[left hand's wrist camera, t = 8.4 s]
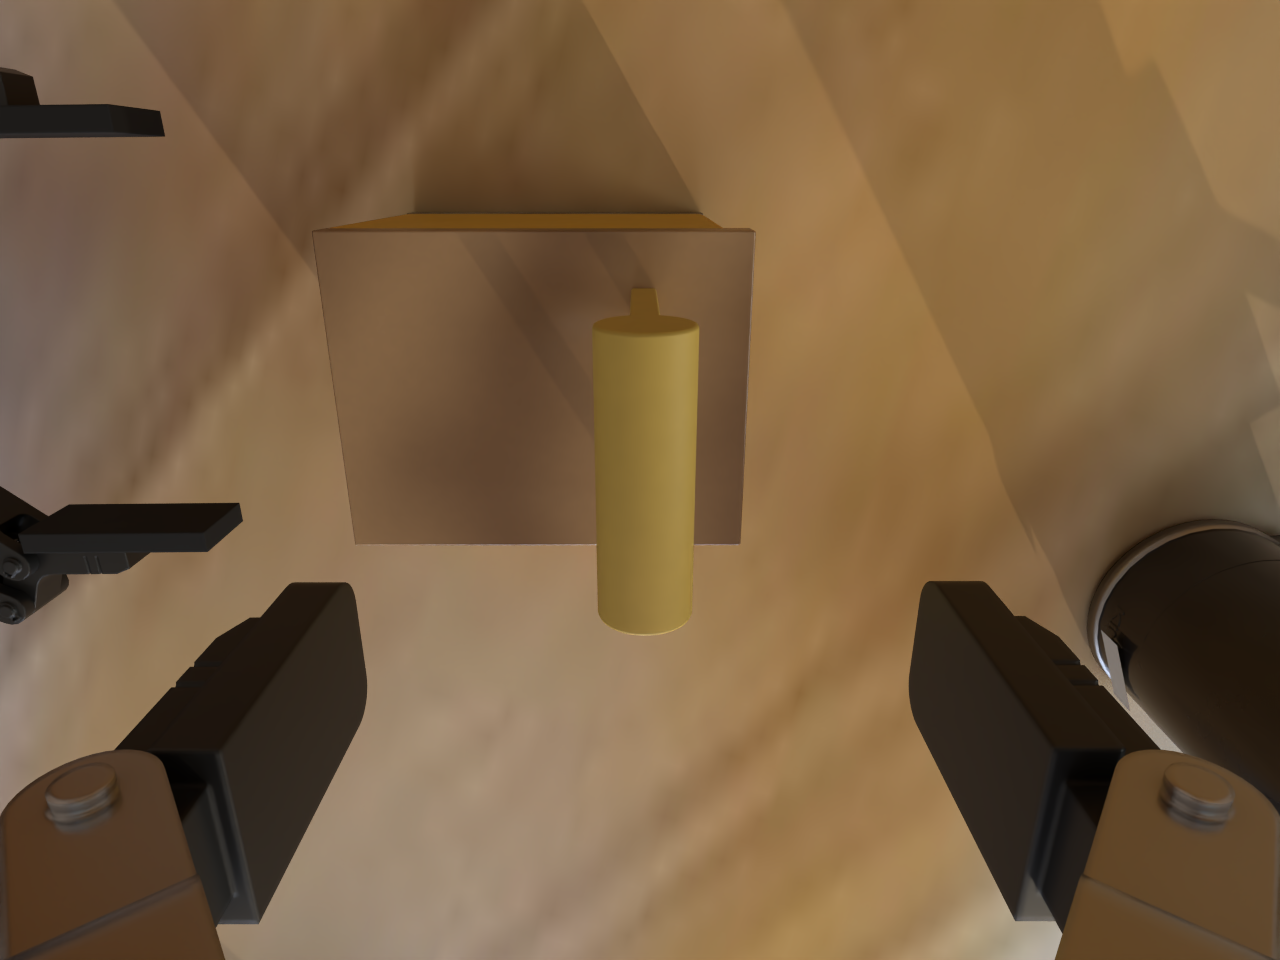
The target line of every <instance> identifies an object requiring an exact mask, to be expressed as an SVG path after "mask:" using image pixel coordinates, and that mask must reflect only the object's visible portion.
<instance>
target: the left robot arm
mask: <svg viewBox="0 0 1280 960" xmlns="http://www.w3.org/2000/svg"><path fill="white" fill-rule="evenodd" d="M1087 635H1088V641H1089V646H1090V649H1091V652H1092V654H1093V656H1094V658H1095V660H1096V662H1097V663H1098V665H1099V666H1100V667H1101V668H1102V670H1103V671H1104V672H1105V673H1106V674H1107V675H1108V676H1109V677H1110V678H1111V681H1112V686H1113V691H1114V694H1115V696H1116V697H1117V698H1118V699H1119V700H1120V701H1121V702H1122V703H1123V704H1124V705H1125V707H1126V708H1127V709H1128V710H1129V711H1130V708H1129V703H1128V698H1127V693H1128V694H1129V695H1130V696H1131V697H1132V698H1133V699H1134V700H1135V702H1136V703H1137V704H1138V705H1139V706H1140V707H1141V708H1142V709H1143V710H1144V711H1145V712H1146V713H1147V714H1148V716H1149V717H1150V718H1151V719H1152V720H1153V721H1154V722H1155V724H1156V725H1157V726H1158V727H1159V728H1160V729H1161V730H1162V731H1163V732H1164V733H1165V734H1166V735H1167V736H1168V737H1169V738H1170V740H1171V741H1172V742H1173V743H1174V744H1175V745H1176V746H1177V747H1178V748H1179V749H1180V750H1181V751H1182V752H1183V753H1179V752H1175V751H1167V750H1161V749H1160V748H1159V747H1158V746H1157V745H1156V744H1155V743H1154V742H1153V741H1152V739H1151V738H1150V737H1149V736H1148V735H1147V734H1146V733H1145V732H1144V731H1143V730H1142V728H1141V727H1140V726H1139V725H1138V724H1137V723H1136V722H1135V721H1134V720H1133V718H1132V717H1131V716H1130V715H1129V714H1128V713H1127V712H1126V711H1125V710H1124V708H1123V707H1122V706H1121V705H1120V704H1119V703H1118V702H1117V701H1116V700H1115V699H1114V697H1113V696H1112V695H1111V694H1110V693H1109V692H1108V691H1107V690H1106V689H1105V687H1104V686H1099V685H1098V680H1097V679H1096V678H1095V676H1094V675H1093V674H1092V673H1091V672H1090V671H1089V670H1088V669H1087V668H1086V666H1085V665H1080V660H1079V659H1078V658H1077V656H1076V655H1075V654H1074V653H1073V652H1072V651H1071V650H1070V649H1069V648H1068V647H1067V645H1066V644H1065V643H1064V642H1063V641H1062V640H1061V639H1060V638H1059V637H1058V636H1057V635H1055V634H1053V633H1052V632H1050V631H1048V630H1047V629H1045V628H1044V627H1042V626H1040V625H1039V624H1037V623H1035V622H1034V621H1032V620H1030V619H1029V618H1027V617H1025V616H1014V615H1013V614H1012V613H1011V611H1010V610H1009V609H1008V608H1007V607H1006V606H1005V604H1004V603H1003V602H1002V601H1001V600H1000V598H999V597H998V596H997V595H996V594H995V593H994V591H993V590H992V589H991V588H990V587H989V586H988V585H987V584H986V583H985V582H983V581H929V582H927V583H926V584H925V585H924V587H923V589H922V593H921V597H920V603H919V610H918V617H917V624H916V631H915V638H914V645H913V652H912V660H911V667H910V674H909V698H910V704H911V710H912V713H913V717H914V720H915V722H916V724H917V726H918V728H919V730H920V732H921V734H922V736H923V738H924V740H925V742H926V744H927V746H928V748H929V750H930V752H931V754H932V756H933V758H934V760H935V762H936V764H937V766H938V768H939V770H940V772H941V774H942V776H943V778H944V780H945V782H946V784H947V786H948V788H949V790H950V792H951V794H952V796H953V798H954V800H955V802H956V804H957V806H958V808H959V810H960V812H961V814H962V816H963V818H964V820H965V822H966V824H967V826H968V828H969V830H970V832H971V834H972V836H973V838H974V840H975V842H976V844H977V846H978V848H979V850H980V852H981V854H982V856H983V858H984V860H985V862H986V864H987V866H988V868H989V870H990V872H991V874H992V876H993V878H994V880H995V882H996V884H997V886H998V888H999V890H1000V892H1001V894H1002V896H1003V898H1004V900H1005V902H1006V904H1007V905H1008V907H1009V909H1010V911H1011V913H1012V915H1013V917H1014V919H1015V921H1056V923H1057V925H1058V926H1059V928H1060V930H1061V932H1062V934H1063V935H1062V938H1061V941H1060V944H1059V948H1058V951H1057V954H1056V958H1055V960H1280V535H1278V536H1268V535H1266V534H1264V533H1263V532H1261V531H1259V530H1257V529H1255V528H1253V527H1251V526H1248V525H1245V524H1242V523H1238V522H1234V521H1227V520H1200V521H1193V522H1188V523H1184V524H1180V525H1177V526H1174V527H1171V528H1168V529H1166V530H1163V531H1161V532H1158V533H1156V534H1155V535H1153V536H1151V537H1149V538H1147V539H1145V540H1144V541H1142V542H1140V543H1139V544H1138V545H1136V546H1135V547H1133V548H1132V549H1131V550H1130V551H1128V552H1127V553H1126V554H1125V555H1124V556H1122V557H1121V558H1120V559H1119V560H1118V561H1117V562H1116V563H1115V565H1114V566H1113V567H1112V568H1111V569H1110V570H1109V572H1108V573H1107V574H1106V576H1105V577H1104V578H1103V580H1102V582H1101V583H1100V585H1099V587H1098V588H1097V591H1096V593H1095V595H1094V597H1093V600H1092V602H1091V605H1090V609H1089V613H1088V620H1087ZM1126 692H1127V693H1126ZM366 698H367V676H366V669H365V662H364V655H363V648H362V641H361V634H360V627H359V620H358V613H357V606H356V600H355V595H354V592H353V589H352V587H351V586H350V585H349V584H348V583H346V582H295V583H291V584H289V585H288V586H287V587H286V588H285V589H284V591H283V592H282V593H281V594H280V595H279V596H278V598H277V599H276V600H275V601H274V602H273V603H272V605H271V606H270V607H269V608H268V609H267V610H266V612H265V613H264V614H263V615H262V616H261V617H260V618H249V619H247V620H245V621H244V622H242V623H240V624H239V625H237V626H236V627H234V628H232V629H231V630H229V631H227V632H226V633H224V634H222V635H221V636H219V637H217V638H216V639H215V640H214V641H213V642H212V643H211V644H210V646H209V647H208V648H207V649H206V650H205V651H204V652H203V653H202V654H201V655H200V657H199V658H198V659H197V660H196V661H195V662H194V667H189V669H188V670H187V671H186V672H185V673H184V674H183V675H182V676H181V677H180V678H179V680H178V681H177V682H176V687H171V688H170V689H169V691H168V692H167V693H166V694H165V695H164V696H163V697H162V698H161V699H160V700H159V701H158V703H157V704H156V705H155V706H154V707H153V708H152V709H151V710H150V711H149V712H148V714H147V715H146V716H145V717H144V718H143V719H142V720H141V721H140V722H139V723H138V725H137V726H136V727H135V728H134V729H133V730H132V731H131V732H130V733H129V734H128V735H127V737H126V738H125V739H124V740H123V741H122V742H121V743H120V744H119V745H118V746H117V748H116V749H115V750H113V751H105V752H101V753H96V754H92V755H89V756H85V757H82V758H79V759H76V760H74V761H71V762H68V763H66V764H64V765H62V766H59V767H57V768H55V769H53V770H51V771H49V772H48V773H46V774H44V775H42V776H41V777H39V778H37V779H36V780H35V781H33V782H32V783H30V784H29V785H27V786H26V787H25V788H24V789H23V790H21V791H20V792H19V793H18V794H17V795H16V796H15V797H14V798H13V799H12V800H11V801H10V802H9V803H8V805H7V806H6V807H5V809H4V810H3V812H2V814H1V816H0V960H225V958H224V954H223V951H222V948H221V944H220V941H219V938H218V935H217V931H216V927H217V925H218V924H259V922H260V920H261V918H262V916H263V914H264V912H265V910H266V908H267V906H268V904H269V903H270V901H271V899H272V897H273V895H274V893H275V891H276V889H277V887H278V885H279V883H280V881H281V879H282V877H283V875H284V873H285V871H286V869H287V867H288V865H289V863H290V861H291V859H292V857H293V855H294V853H295V851H296V849H297V847H298V845H299V843H300V842H301V840H302V838H303V836H304V834H305V832H306V830H307V828H308V826H309V824H310V822H311V820H312V818H313V816H314V814H315V812H316V810H317V808H318V806H319V804H320V802H321V800H322V798H323V796H324V794H325V792H326V790H327V788H328V786H329V784H330V782H331V781H332V779H333V777H334V775H335V773H336V771H337V769H338V767H339V765H340V763H341V761H342V759H343V757H344V755H345V753H346V751H347V749H348V747H349V745H350V743H351V741H352V739H353V737H354V735H355V733H356V731H357V729H358V727H359V725H360V723H361V721H362V718H363V714H364V710H365V705H366Z"/></svg>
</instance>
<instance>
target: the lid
mask: <svg viewBox="0 0 1280 960" xmlns="http://www.w3.org/2000/svg"><path fill="white" fill-rule="evenodd" d="M312 236H313V243H314V250H315V257H316V265H317V272H318V279H319V286H320V293H321V300H322V308H323V315H324V322H325V329H326V336H327V344H328V351H329V358H330V365H331V372H332V380H333V387H334V394H335V401H336V408H337V416H338V423H339V430H340V437H341V444H342V452H343V459H344V466H345V473H346V480H347V488H348V495H349V502H350V509H351V516H352V524H353V531H354V538H355V544H356V545H597V586H598V613H599V616H600V618H601V619H602V621H603V622H604V623H605V624H606V625H607V626H609V627H610V628H612V629H614V630H616V631H619V632H622V633H626V634H631V635H640V636H650V635H659V634H664V633H668V632H671V631H674V630H676V629H678V628H680V627H681V626H683V625H684V624H685V623H686V622H687V621H688V620H689V618H690V616H691V613H692V589H693V551H694V545H740V540H741V520H742V500H743V480H744V459H745V439H746V419H747V398H748V378H749V358H750V337H751V317H752V297H753V276H754V256H755V236H756V232H755V231H754V230H752V229H750V228H325V229H320V230H314V231H312Z"/></svg>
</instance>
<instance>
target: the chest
mask: <svg viewBox="0 0 1280 960" xmlns="http://www.w3.org/2000/svg"><path fill="white" fill-rule="evenodd" d="M332 228H722V227H720V226H719V225H717V224H716V223H714V222H713V221H711V220H710V219H708V218H706V217H705V216H703V214H702V213H408V214H406V215H400V216H394V217H389V218H383V219H377V220H372V221H366V222H360V223H355V224H349V225H343V226H338V227H332Z"/></svg>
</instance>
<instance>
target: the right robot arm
mask: <svg viewBox="0 0 1280 960" xmlns="http://www.w3.org/2000/svg"><path fill="white" fill-rule="evenodd" d="M160 136H165V134H164V129H163V124H162V119H161V114H160V111H156V110H148V109H140V108H133V107H125V106H117V105H110V104H85V105H40V104H39V100H38V96H37V92H36V88H35V84H34V80H33V77H32V76H29V75H27V74H24V73H22V72H19V71H17V70H13V69H7V68H1V67H0V138H67V137H160ZM242 521H243V519H242V514H241V509H240V504H239V503H180V504H73V505H67V506H66V507H64V508H62V509H60V510H59V511H57V512H55V513H54V514H52V515H50V516H47V515H45V514H44V513H42V512H41V511H39V510H37V509H36V508H34V507H33V506H31V505H29V504H28V503H26V502H25V501H23V500H21V499H20V498H18V497H17V496H15V495H13V494H12V493H10V492H9V491H7V490H5V489H4V488H2V487H1V486H0V621H1V622H4V623H7V624H19V623H20V622H22V621H23V620H25V619H26V618H28V617H29V616H30V615H32V614H33V613H35V612H36V611H37V610H39V609H40V608H41V607H43V606H44V605H46V604H47V603H48V602H50V601H51V600H53V599H54V598H55V597H57V596H58V595H59V594H61V593H62V592H63V591H65V590H66V589H67V587H68V585H69V580H68V577H67V575H66V574H90V573H91V574H101V573H102V574H118V573H120V572H123V571H125V570H127V569H130V568H131V567H132V566H133V565H135V564H136V563H137V562H139V561H140V560H141V559H143V558H144V557H145V556H146V555H148V554H149V553H150V552H208V551H209V550H210V549H211V548H213V547H214V546H215V545H216V544H217V543H218V542H219V541H221V540H222V539H223V538H224V537H225V536H226V535H227V534H229V533H230V532H231V531H232V530H233V529H234V528H235V527H237V526H238V525H239V524H240V523H241V522H242Z"/></svg>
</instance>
